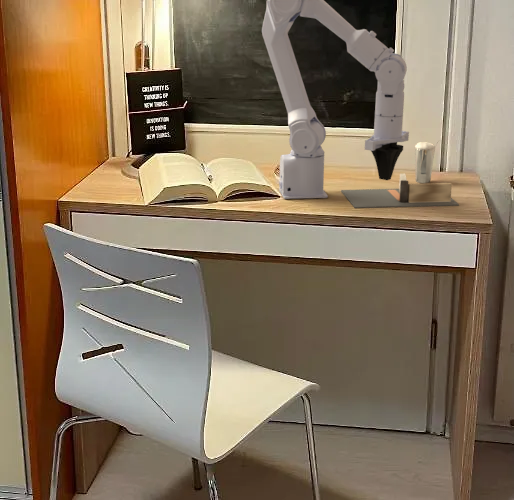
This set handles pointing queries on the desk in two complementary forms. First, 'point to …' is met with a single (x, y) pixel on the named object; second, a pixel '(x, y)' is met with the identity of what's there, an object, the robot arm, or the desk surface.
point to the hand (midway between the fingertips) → (384, 179)
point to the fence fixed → (425, 192)
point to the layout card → (386, 199)
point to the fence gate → (402, 178)
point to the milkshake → (424, 161)
